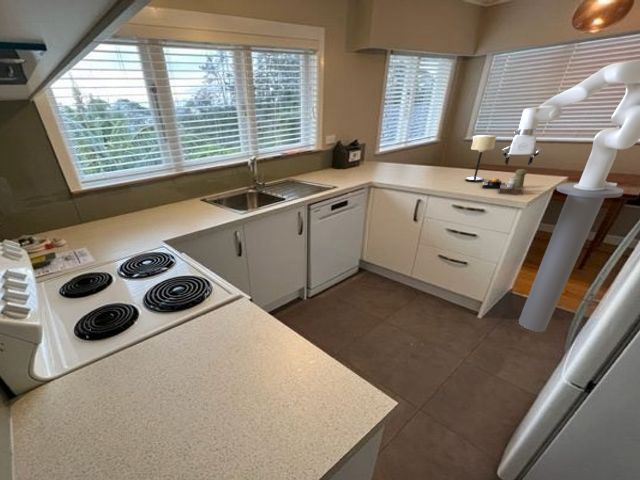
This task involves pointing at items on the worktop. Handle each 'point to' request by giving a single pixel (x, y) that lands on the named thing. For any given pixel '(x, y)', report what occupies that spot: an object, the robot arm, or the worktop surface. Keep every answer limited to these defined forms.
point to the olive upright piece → (520, 177)
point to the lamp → (481, 145)
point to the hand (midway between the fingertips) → (517, 164)
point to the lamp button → (495, 179)
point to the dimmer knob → (512, 182)
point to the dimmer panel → (510, 190)
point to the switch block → (492, 184)
